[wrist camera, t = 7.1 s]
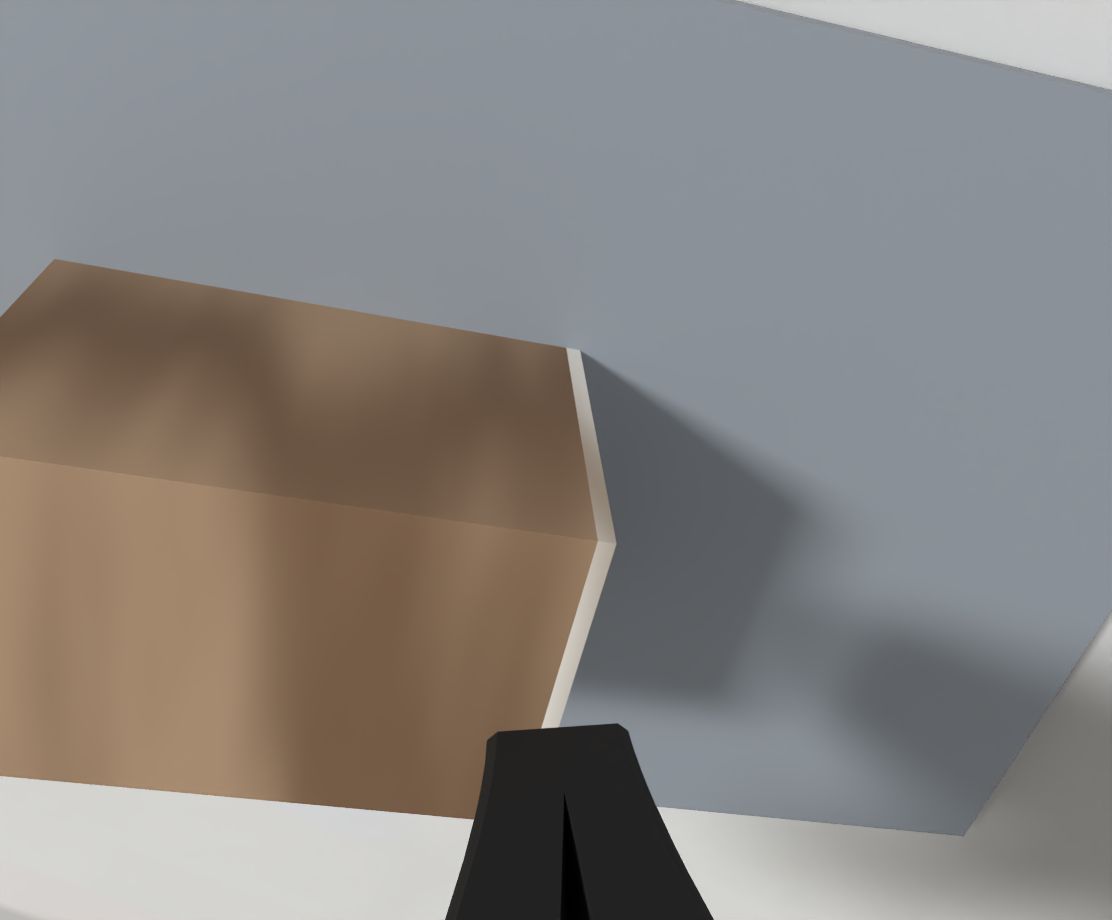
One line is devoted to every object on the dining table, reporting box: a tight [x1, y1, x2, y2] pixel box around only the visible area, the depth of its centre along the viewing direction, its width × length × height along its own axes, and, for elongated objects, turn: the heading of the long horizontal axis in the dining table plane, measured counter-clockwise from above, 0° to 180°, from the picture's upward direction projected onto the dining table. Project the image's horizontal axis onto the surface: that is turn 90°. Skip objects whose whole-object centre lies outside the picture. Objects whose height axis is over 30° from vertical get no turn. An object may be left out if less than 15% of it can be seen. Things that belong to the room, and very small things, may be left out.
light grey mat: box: [0, 0, 1112, 836], centre depth 16 cm, size 20×14×1 cm
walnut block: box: [0, 259, 617, 819], centre depth 13 cm, size 4×4×7 cm
